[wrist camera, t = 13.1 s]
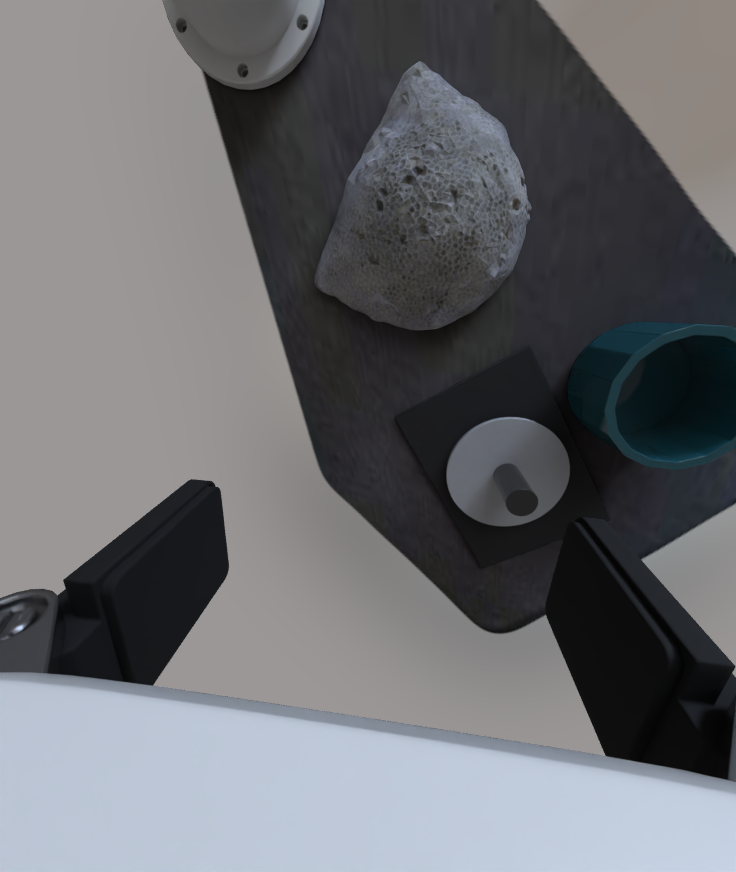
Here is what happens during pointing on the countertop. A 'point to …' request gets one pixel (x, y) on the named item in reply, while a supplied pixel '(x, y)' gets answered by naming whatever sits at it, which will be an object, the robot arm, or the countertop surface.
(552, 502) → the lid
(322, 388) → the countertop surface
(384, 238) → the stone
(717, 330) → the pot
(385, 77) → the countertop surface
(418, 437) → the mat
